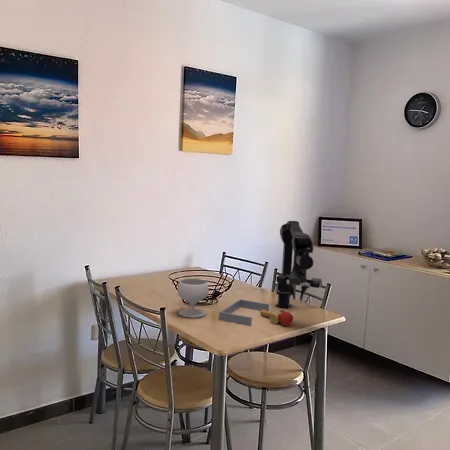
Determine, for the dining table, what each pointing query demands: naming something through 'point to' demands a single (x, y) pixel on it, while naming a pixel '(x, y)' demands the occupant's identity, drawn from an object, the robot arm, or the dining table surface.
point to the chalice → (192, 295)
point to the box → (227, 316)
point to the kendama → (279, 317)
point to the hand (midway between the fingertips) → (297, 300)
